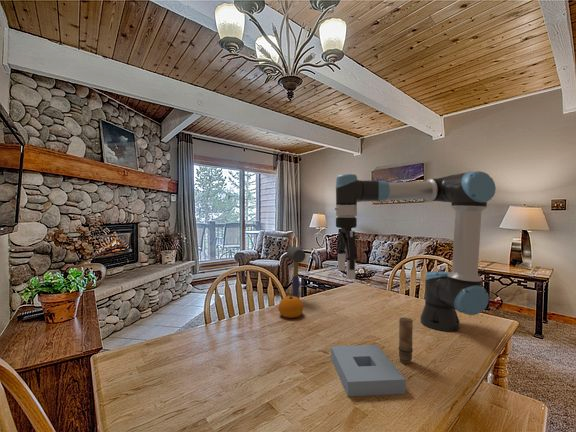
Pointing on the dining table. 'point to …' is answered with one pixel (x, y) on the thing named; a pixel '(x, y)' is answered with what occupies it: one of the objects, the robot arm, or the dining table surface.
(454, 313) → the robot arm
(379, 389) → the seat board
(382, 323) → the dining table surface
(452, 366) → the dining table surface
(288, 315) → the fruit
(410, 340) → the peg
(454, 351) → the dining table surface
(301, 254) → the rubber mallet
